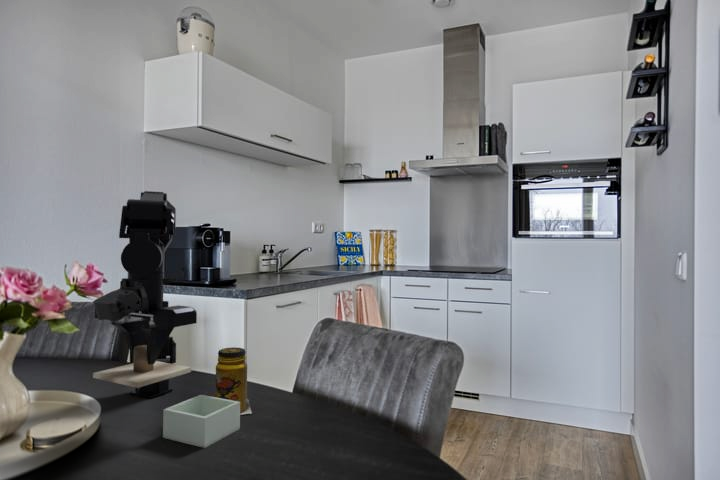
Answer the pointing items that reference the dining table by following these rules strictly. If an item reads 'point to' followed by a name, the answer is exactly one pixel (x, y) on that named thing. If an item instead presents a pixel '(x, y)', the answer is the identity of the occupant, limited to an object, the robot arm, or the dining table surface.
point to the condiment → (232, 377)
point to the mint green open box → (201, 420)
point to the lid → (141, 371)
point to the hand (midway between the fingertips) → (144, 362)
